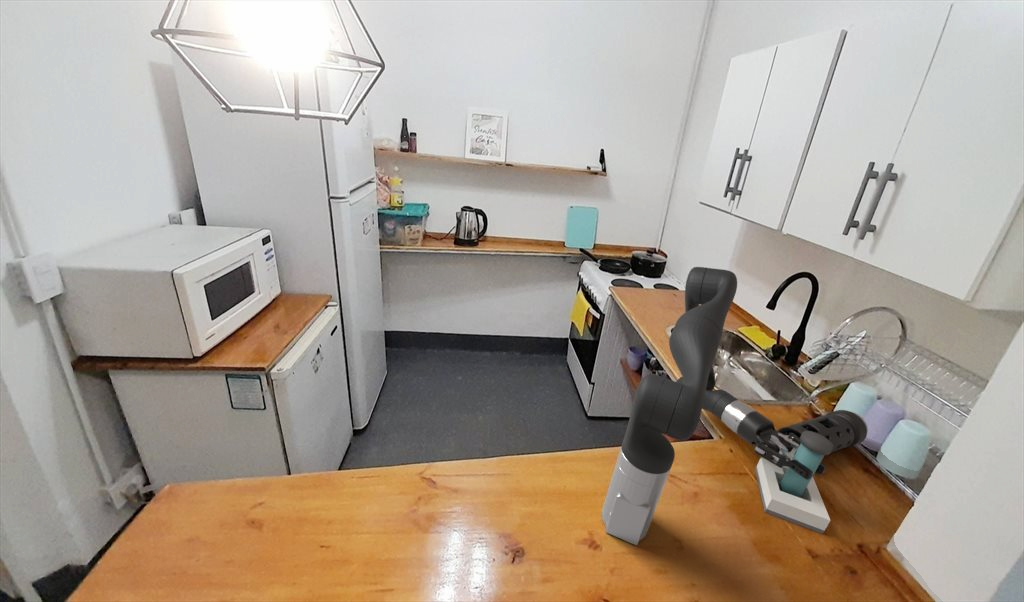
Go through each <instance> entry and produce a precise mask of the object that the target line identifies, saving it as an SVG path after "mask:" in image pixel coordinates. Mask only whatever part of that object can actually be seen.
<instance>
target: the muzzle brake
mask: <svg viewBox="0 0 1024 602" xmlns="http://www.w3.org/2000/svg"><path fill="white" fill-rule="evenodd" d="M868 430H869V429H868V425H867V423H866V421H865V419H864V418H863V417H862V416H861V415H860V414H858V413H856V412H854V411H850V410H845V409H839V410H838V409H837V410H833V411H831V412H828V413H825V414H823V415H821V416H817V417H814V418H811V419H808V420H804V421H801V422H797V423H794V424H791V425H790V424H789V425H787V426H783V427H781V428H779V429H778V430H777V431H778V432H780V433H782V434H784V435H789V434H790V433H794V434H795V435H796V436H797V437H798V438H799V439H800V437H801V435H802V433H803V432H804V431H812V432H815V433H818V434H820V435H822V436H824V437H825V438H827V439H828V440H829V441H830V442H831V443H832V444H833V449H832V450H831V452H830V454H831V453H833V452H836V451H839V450H843V449H845V448H849V447H853V446H856V445H859V444H861V443H863V442H864V441H865V440H866V438H867V435H868ZM792 449H793V448H792V447H791V448H790V450H789V452H791V451H792ZM796 452H797V451H796ZM793 458H794V457H793Z"/></svg>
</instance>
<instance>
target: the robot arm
mask: <svg viewBox="0 0 1024 602" xmlns="http://www.w3.org/2000/svg"><path fill="white" fill-rule="evenodd" d="M684 286H685V287H684V289H685V290H684V309H685V311H684V313H683V314H681V316H680V317H678V318H677V320H676V322H675V324H674V327H673V328H672V331H671V332H670V333H671V334H670V337H669V339H668V343H669V344H668V345H669V351H670V353H671V356H672V358H673V360H674V363H675V365H676V367H677V369H678V371H679V372H680V375H681V377H679V378H678V379H677V380H676V381H675V380H671V379H670V378H667V377H664V376H661V375H658V374H655V373H647V374H645V375H644V376H643V377H642V378H641V380H640V381H639V383H638V386H637V388H636V390H635V394H634V397H633V401H632V406H631V411H630V416H629V420H628V424H627V427H626V430H625V434H624V436H623V437H624V438H623V440H622V444H621V447H620V449H619V453H618V457H617V460H616V463H615V466H614V471H613V474H612V476H611V480H610V482H609V486H608V490H607V493H606V496H605V500H604V503H603V507H602V510H601V518H602V522H603V524H604V525H605V533H607V534H609V535H612V536H613V537H616V538H618V539H621V540H623V541H625V542H627V543H629V544H632V545H634V546H638V545H639V542H640V541H641V540H643V539H644V538H645V537H646V536H647V534H648V531H649V529H650V526H651V524H652V521H653V517H654V514H655V512H656V510H657V507H658V504H659V501H660V498H661V496H662V493H663V490H664V488H665V484H666V482H667V480H668V478H669V475H670V472H671V469H672V467H673V463H674V461H675V456H676V454H675V453H676V452H675V449H674V447H673V445H672V443H671V442H670V441H669V439H668V438H667V437H670V438H672V439H675V440H678V441H688V440H689V439H690V438H691V437H692V436H693V435H694V434H695V432H696V430H697V428H698V425H699V422H700V419H701V416H702V411H703V410H704V411H706V412H710V414H712V415H713V416H714V417H716V418H717V419H718V420H720V422H722V423H723V424H724V425H725V426H727V428H729V429H730V430H731V431H732V432H734V433H735V434H736V435H738V436H739V437H740V438H741V439H743V441H744V440H745V442H747V443H748V444H749V445H751V446H752V447H754V450H753V453H755V455H757V456H759V457H760V458H761V457H762V458H764V459H766V460H768V461H769V462H771V463H773V464H775V465H776V466H778V467H780V468H782V467H783V466H785V467H787V468H791V469H792V470H794V471H795V472H796V473H798V474H799V475H800V476H802V477H803V478H805V479H806V480H808V479H810V478H811V477H812V475H813V472H812V471H811V470H810V469H809V468H807V467H806V466H804V465H803V464H801V463H800V462H799V461H798V460H795V459H794V458H793V457H794V456H795V454H796V451H797V450H798V448H799V446H800V444H801V442H800V439H799V438H798V437H797V436H796V435H795V434H794V433H790V434H789V435H784V434H782V433H780V432H778V430H777V429H776V428H775V424H774V422H773V421H772V420H770V419H769V418H768V417H766V416H765V415H763V414H761V413H760V412H759V411H757V410H756V409H755V408H753V407H751V406H750V405H749V404H747V403H745V402H743V401H741V400H739V399H738V398H736V396H734V395H732V394H730V392H728V391H726V390H724V389H715V386H716V382H717V381H716V376H715V371H714V367H713V364H714V361H715V358H716V355H717V352H718V349H719V347H720V343H721V339H722V335H723V330H724V328H725V327H724V326H725V323H726V318H727V316H728V313H729V310H730V308H731V306H732V304H733V301H734V299H735V295H736V293H737V290H738V289H737V288H738V278H737V275H736V274H735V273H734V272H733V271H731V270H728V269H721V268H711V267H704V266H694V267H692V268H691V269H690V271H689V273H688V274H687V278H686V282H685V285H684ZM665 435H666V436H667V437H666V436H665ZM791 447H792V448H793V449H792V451H791V452H789V450H790V448H791ZM794 460H795V461H794ZM826 470H827V467H826V466H825V465H824V464H823V462H820V464H819V466H818V468H817V470H816V471H815V473H817V475H820V476H821V475H823V474H824V473H825V472H826ZM813 476H814V475H813Z"/></svg>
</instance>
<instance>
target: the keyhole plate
mask: <svg viewBox="0 0 1024 602" xmlns="http://www.w3.org/2000/svg"><path fill="white" fill-rule="evenodd" d="M787 469H788V468H787V467H785V466H783V467H782V468H780V467H778V466H776V465H775V464H773V463H771V462H769V461H768V460H766V459H764V458H763V457H761V456H760V458H759V461H758V462H757V465H756V467H755V469H754V471H755V474H756V476H755V477H756V478H757V483H758V488H759V493H760V496H761V502H762V505H763V510H764V513H765V514H769V515H771V516H773V517H775V518H776V517H777V518H778V519H782V520H785V521H787V522H789V523H792V524H795V525H797V526H800V527H802V528H805V529H808V530H812V531H814V532H817V533H819V534H821V535H822V534H824V532H825V530H826V529H827V527H828V526H829V524H830V522H831V518H830V516H829V513H828V511H827V508H826V506H825V503H824V501H823V498H822V496H821V493H820V491H819V488H818V486H817V483H816V481H815V479H814V476H813V477H812V478H811V480H810V482H809V484H808V486H807V487H806V489H805V491H804V493H803V495H802V496H801V498H799V497H796V496H794V495H791V494H788V493H785V492H782V491H780V489H779V484H780V482H781V480H782V479H783V477H784V475H785V473H786V471H787Z"/></svg>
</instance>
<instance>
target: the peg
mask: <svg viewBox="0 0 1024 602" xmlns="http://www.w3.org/2000/svg"><path fill="white" fill-rule="evenodd" d="M800 442H801V444H800V446H799V448H798V450H797V452H796V454H795V456H794V459H795V460H798V461H799V462H800V463H801V464H803V465H804V466H806V467H807V468H809V469H810V470H811V471H812V472H813V475H812V477H813V478H814V475H815V473H816V472H815V471H816V470H817V468H818V466H819V464H820V463H822V461H823V459H824V457H825V456H828V455H830V454H831V453H830V452H831V450H832V449H833V444H832V443H831V442H830V441H829V440H828V439H827V438H825V437H824V436H822V435H820V434H818V433H815V432H812V431H804V432H803V433H802V435H801V437H800ZM795 460H794V461H795ZM812 477H811V478H812ZM811 478H810V479H808V480H806V479H805V478H803V477H802V476H800V475H799V474H798V473H796V472H795V471H794V470H792V469H791V468H788V469H787V471H786V473H785V475H784V477H783V479H782V480H781V482H780V484H779V489H780V491H782V492H785V493H788V494H791V495H794V496H796V497H799V498H801V496H802V495H803V493H804V491H805V489H806V487H807V486H808V484H809V482H810V480H811Z"/></svg>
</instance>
